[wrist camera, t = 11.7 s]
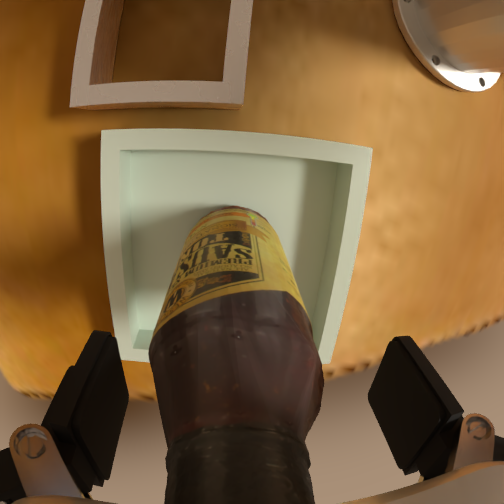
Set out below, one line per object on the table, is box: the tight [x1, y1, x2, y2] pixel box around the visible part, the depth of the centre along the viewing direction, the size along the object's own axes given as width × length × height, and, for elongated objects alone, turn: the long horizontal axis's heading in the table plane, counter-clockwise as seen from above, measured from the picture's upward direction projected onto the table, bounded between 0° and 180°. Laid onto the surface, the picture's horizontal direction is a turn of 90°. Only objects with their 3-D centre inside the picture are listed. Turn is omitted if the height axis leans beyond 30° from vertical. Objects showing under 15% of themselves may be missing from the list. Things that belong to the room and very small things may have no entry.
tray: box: [101, 128, 373, 364], centre depth 21 cm, size 16×16×4 cm
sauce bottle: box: [148, 206, 324, 504], centre depth 12 cm, size 6×6×20 cm
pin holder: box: [70, 0, 253, 110], centre depth 15 cm, size 10×11×4 cm
